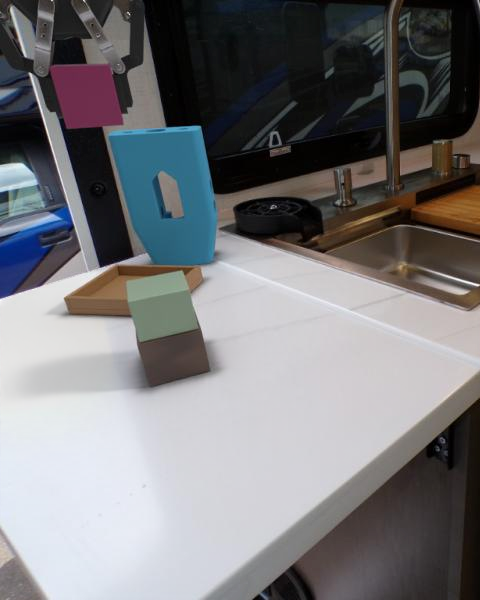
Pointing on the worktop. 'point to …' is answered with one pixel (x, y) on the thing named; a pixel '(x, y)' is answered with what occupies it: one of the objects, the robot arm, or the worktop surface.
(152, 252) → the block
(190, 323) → the sage block
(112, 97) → the mulberry block
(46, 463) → the worktop surface
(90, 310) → the tray
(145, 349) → the walnut block
